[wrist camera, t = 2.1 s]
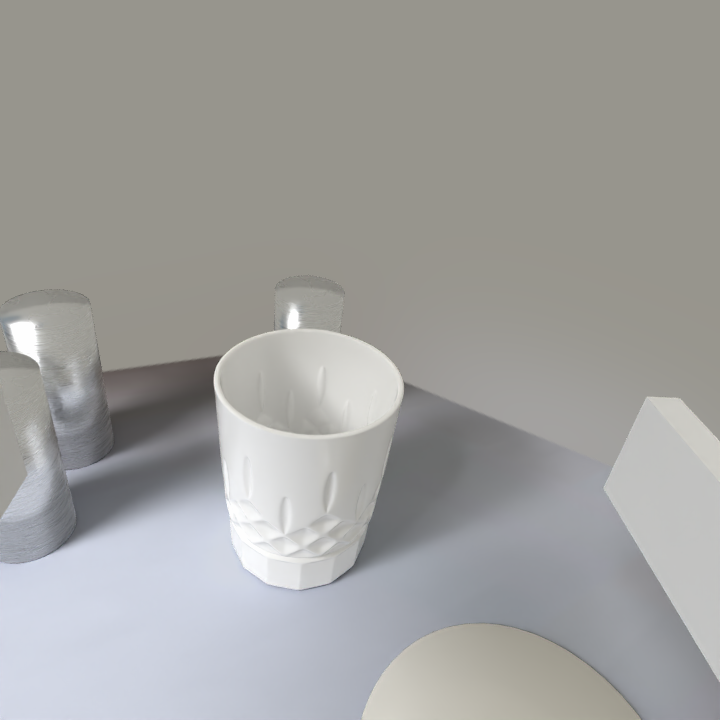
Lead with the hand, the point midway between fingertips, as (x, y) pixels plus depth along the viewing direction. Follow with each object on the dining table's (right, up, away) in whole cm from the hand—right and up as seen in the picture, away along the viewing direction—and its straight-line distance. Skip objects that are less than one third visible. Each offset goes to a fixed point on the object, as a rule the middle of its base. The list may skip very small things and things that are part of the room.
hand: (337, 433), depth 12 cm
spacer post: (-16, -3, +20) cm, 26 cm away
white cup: (-3, -8, +17) cm, 19 cm away
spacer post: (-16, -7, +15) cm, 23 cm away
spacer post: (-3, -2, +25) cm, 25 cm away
